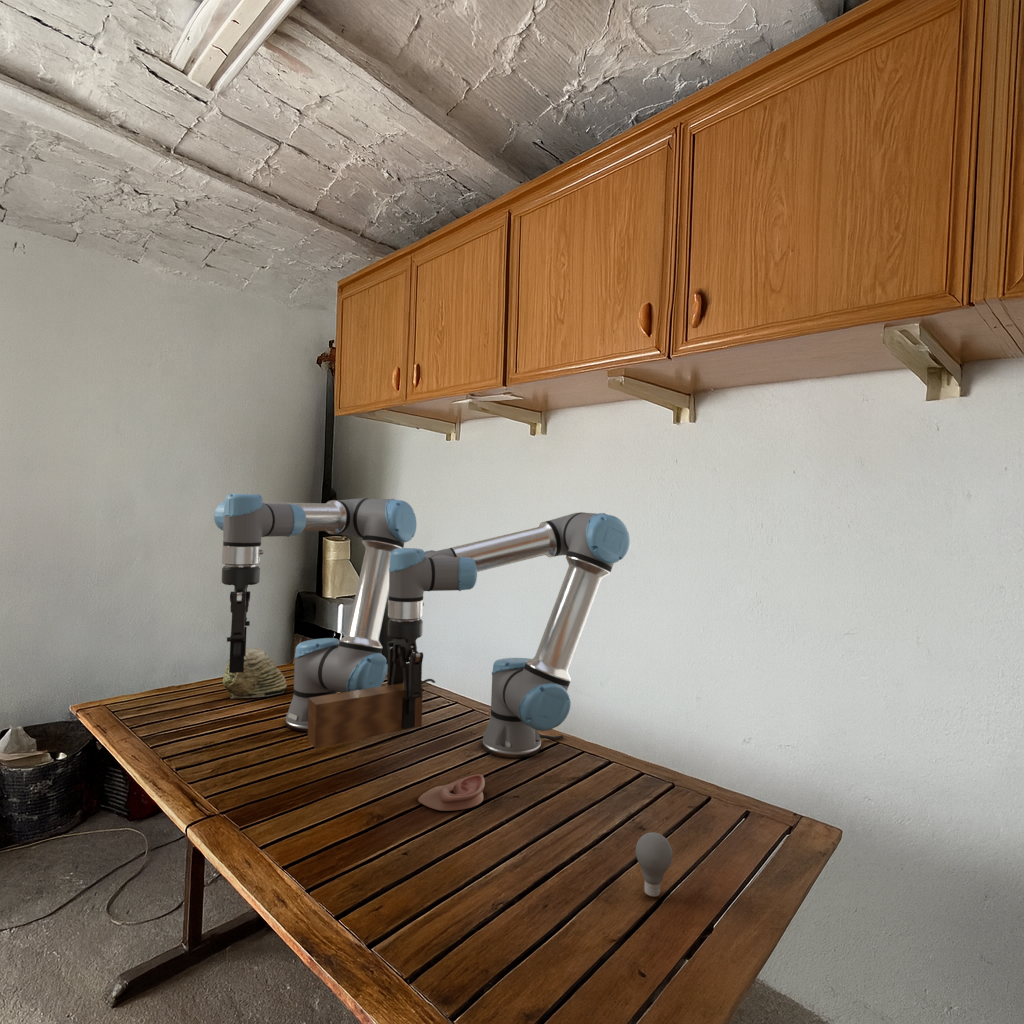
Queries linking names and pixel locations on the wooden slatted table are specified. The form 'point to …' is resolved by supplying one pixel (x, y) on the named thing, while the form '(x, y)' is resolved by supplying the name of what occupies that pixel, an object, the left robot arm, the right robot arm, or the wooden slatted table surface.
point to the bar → (358, 714)
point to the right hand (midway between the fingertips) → (402, 723)
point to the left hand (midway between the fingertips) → (237, 663)
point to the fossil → (255, 677)
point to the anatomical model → (455, 794)
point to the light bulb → (653, 860)
